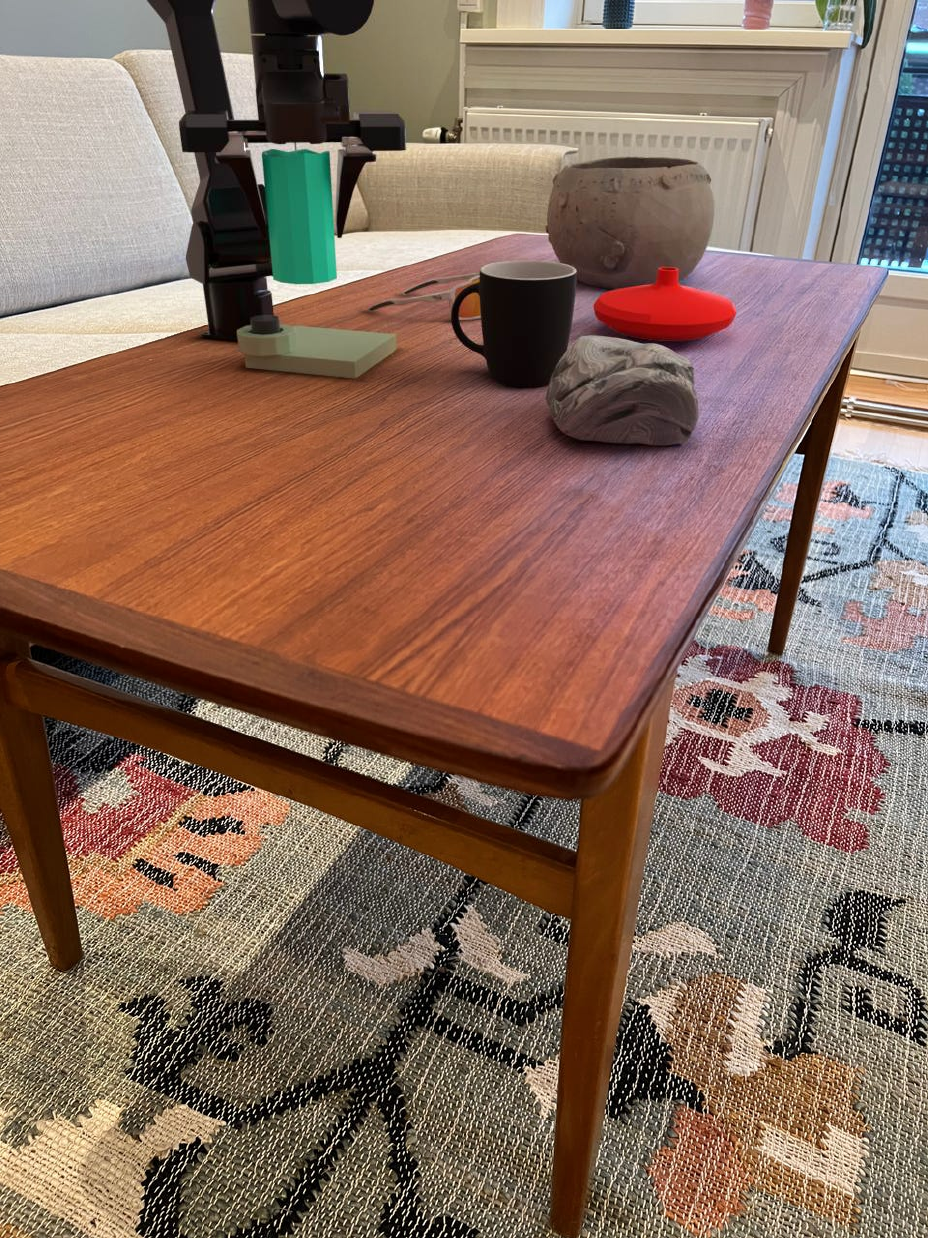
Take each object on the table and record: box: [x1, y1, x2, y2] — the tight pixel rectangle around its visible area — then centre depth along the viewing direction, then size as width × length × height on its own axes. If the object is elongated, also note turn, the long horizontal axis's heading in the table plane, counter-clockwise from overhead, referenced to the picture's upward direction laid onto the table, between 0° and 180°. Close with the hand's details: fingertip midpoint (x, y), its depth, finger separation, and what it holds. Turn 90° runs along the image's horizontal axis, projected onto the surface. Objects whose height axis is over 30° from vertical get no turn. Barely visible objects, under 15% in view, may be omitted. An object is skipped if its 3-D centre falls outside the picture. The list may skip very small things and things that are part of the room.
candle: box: [261, 143, 338, 285], centre depth 83 cm, size 6×6×12 cm
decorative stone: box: [545, 334, 700, 446], centre depth 76 cm, size 15×14×10 cm
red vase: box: [592, 267, 737, 342], centre depth 103 cm, size 16×16×7 cm
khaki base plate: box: [237, 323, 398, 379], centre depth 95 cm, size 13×12×4 cm
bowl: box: [544, 156, 716, 289], centre depth 128 cm, size 23×23×15 cm
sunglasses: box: [367, 271, 481, 321], centre depth 115 cm, size 14×15×5 cm
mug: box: [450, 259, 578, 388], centre depth 88 cm, size 12×9×10 cm
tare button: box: [250, 314, 281, 335], centre depth 92 cm, size 3×3×2 cm
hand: (301, 238), depth 84 cm, fingers closed on candle, 6 cm apart
